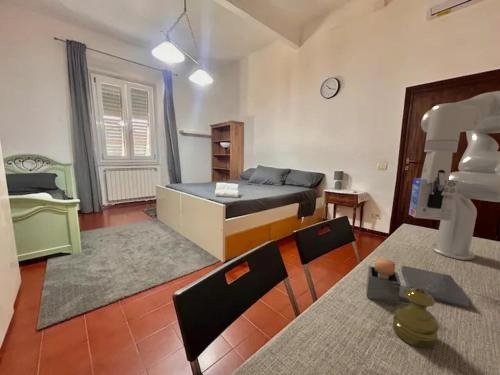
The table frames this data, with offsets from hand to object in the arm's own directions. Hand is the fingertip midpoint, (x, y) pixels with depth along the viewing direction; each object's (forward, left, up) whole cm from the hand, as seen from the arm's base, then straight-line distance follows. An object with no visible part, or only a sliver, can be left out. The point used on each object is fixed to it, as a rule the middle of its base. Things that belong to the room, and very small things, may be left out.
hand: (430, 205), depth 69 cm
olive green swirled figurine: (+33, -8, -22) cm, 41 cm away
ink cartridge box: (0, 0, -4) cm, 4 cm away
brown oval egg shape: (+21, -13, -18) cm, 31 cm away
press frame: (+14, -5, -22) cm, 27 cm away
